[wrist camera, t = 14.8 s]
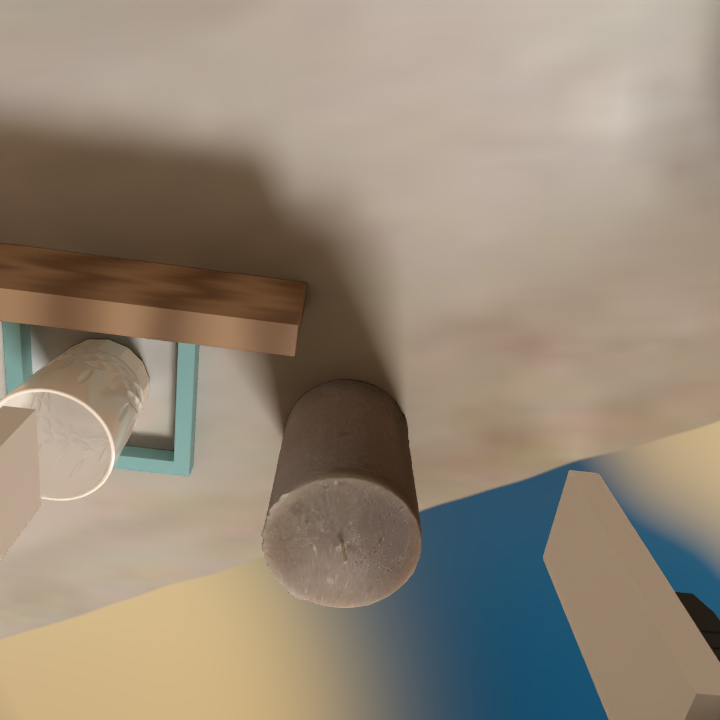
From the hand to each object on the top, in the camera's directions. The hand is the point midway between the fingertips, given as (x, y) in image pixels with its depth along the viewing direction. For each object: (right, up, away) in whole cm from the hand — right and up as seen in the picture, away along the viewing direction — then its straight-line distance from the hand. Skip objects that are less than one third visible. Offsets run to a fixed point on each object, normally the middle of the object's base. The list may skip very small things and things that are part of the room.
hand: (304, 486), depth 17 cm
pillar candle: (0, -3, +36) cm, 36 cm away
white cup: (-18, +2, +34) cm, 38 cm away
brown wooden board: (-16, +9, +30) cm, 36 cm away
